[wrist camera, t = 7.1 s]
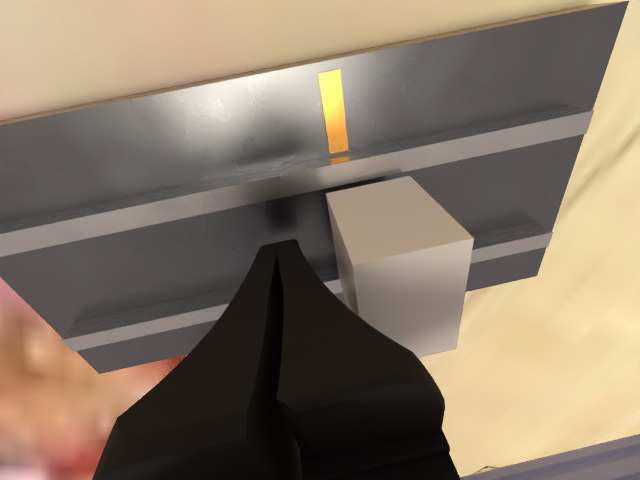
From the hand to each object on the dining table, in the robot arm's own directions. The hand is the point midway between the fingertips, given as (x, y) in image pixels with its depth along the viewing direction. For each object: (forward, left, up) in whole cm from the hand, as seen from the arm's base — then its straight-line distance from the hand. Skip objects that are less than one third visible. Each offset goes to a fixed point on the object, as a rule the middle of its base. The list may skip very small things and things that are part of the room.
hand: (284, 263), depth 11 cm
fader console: (0, -1, -3) cm, 3 cm away
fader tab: (0, -4, -2) cm, 4 cm away
